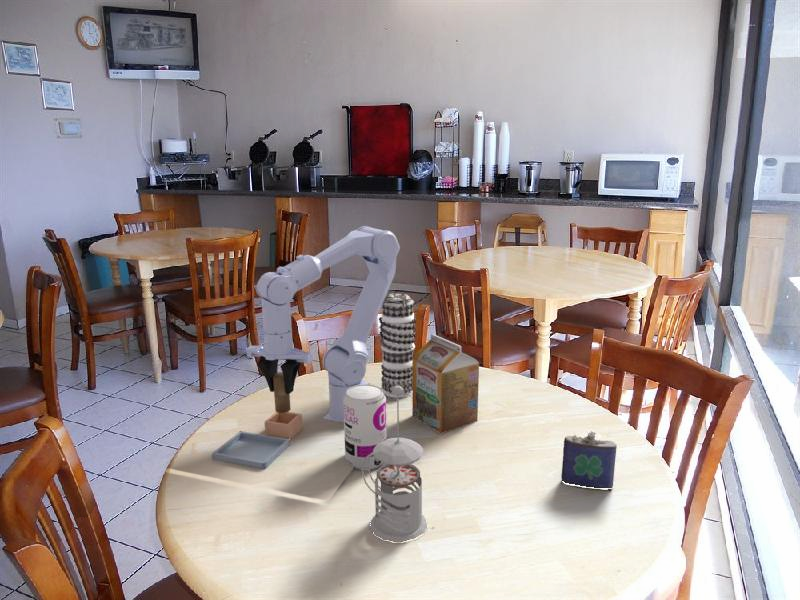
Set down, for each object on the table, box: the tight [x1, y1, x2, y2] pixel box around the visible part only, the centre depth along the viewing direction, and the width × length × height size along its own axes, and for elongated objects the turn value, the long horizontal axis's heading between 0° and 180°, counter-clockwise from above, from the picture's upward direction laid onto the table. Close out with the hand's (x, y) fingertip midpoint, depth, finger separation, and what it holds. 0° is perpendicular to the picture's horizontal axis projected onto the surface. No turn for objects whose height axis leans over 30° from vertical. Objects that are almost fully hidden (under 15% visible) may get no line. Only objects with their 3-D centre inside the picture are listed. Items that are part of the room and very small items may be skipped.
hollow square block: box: [264, 411, 303, 441], centre depth 132 cm, size 6×6×4 cm
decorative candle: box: [378, 292, 418, 399], centre depth 151 cm, size 9×9×25 cm
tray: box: [211, 430, 291, 470], centre depth 124 cm, size 12×10×2 cm
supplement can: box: [343, 384, 388, 471], centre depth 120 cm, size 8×8×15 cm
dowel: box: [273, 371, 291, 413], centre depth 130 cm, size 3×3×8 cm
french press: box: [361, 385, 428, 542], centre depth 99 cm, size 10×12×25 cm
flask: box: [560, 431, 618, 489], centre depth 111 cm, size 9×3×11 cm, turn 74°
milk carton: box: [411, 333, 480, 434], centre depth 137 cm, size 11×11×19 cm
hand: (281, 391), depth 130 cm, fingers closed on dowel, 3 cm apart
